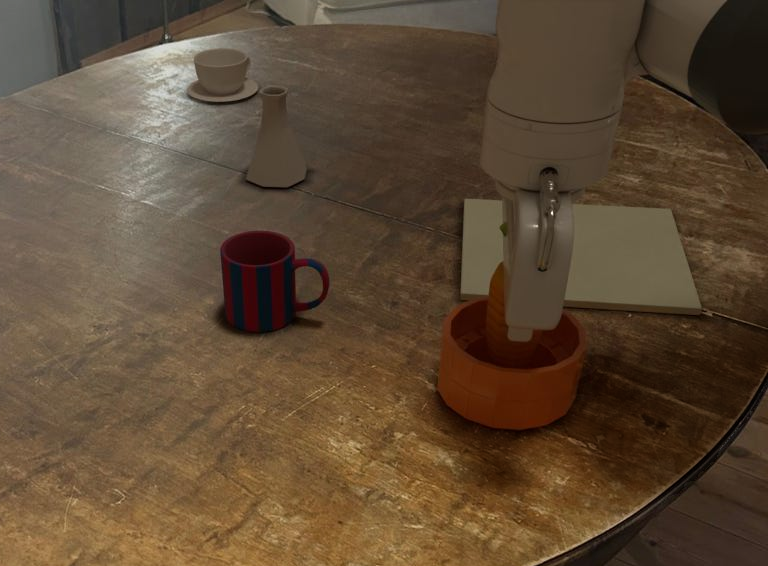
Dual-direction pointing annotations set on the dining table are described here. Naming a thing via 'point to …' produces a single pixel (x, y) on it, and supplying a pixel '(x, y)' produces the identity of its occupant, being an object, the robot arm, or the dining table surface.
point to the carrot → (505, 327)
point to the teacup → (222, 76)
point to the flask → (276, 144)
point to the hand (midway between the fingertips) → (517, 313)
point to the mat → (595, 258)
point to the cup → (263, 280)
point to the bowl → (508, 372)
